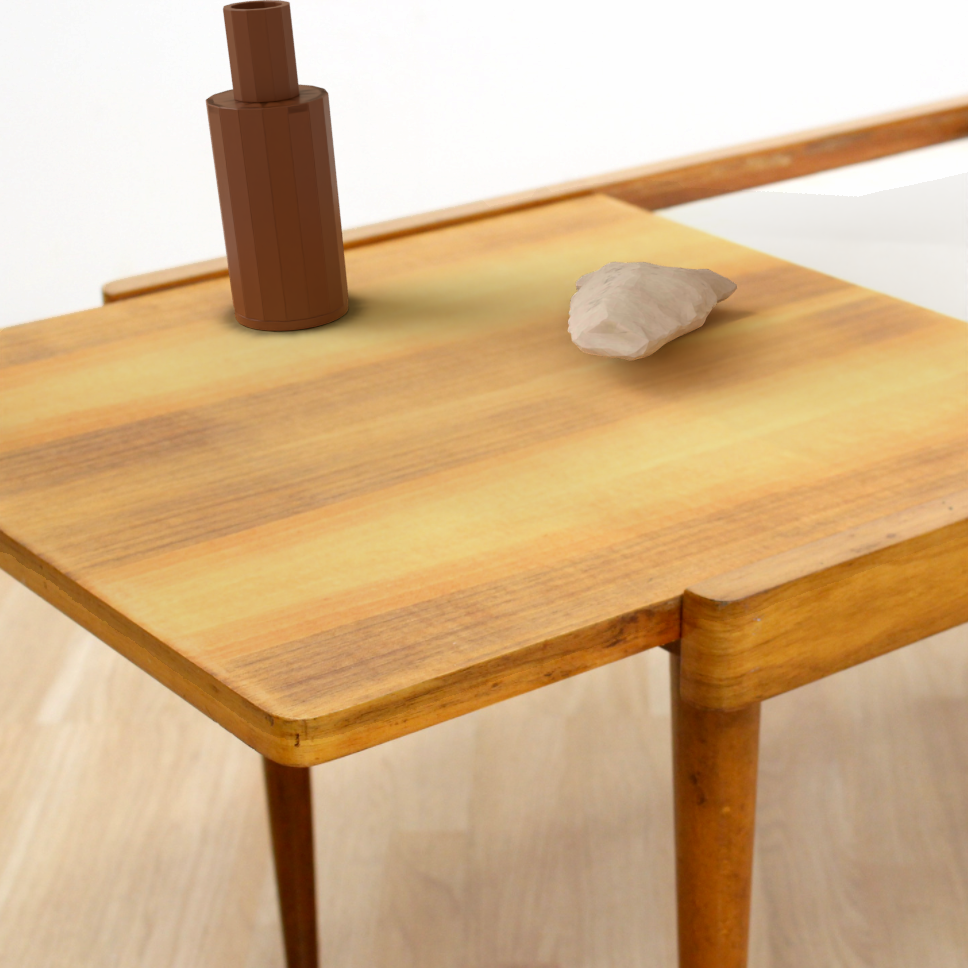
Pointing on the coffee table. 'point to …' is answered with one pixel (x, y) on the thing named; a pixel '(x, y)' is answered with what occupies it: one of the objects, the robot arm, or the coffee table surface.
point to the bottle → (276, 178)
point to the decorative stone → (641, 307)
